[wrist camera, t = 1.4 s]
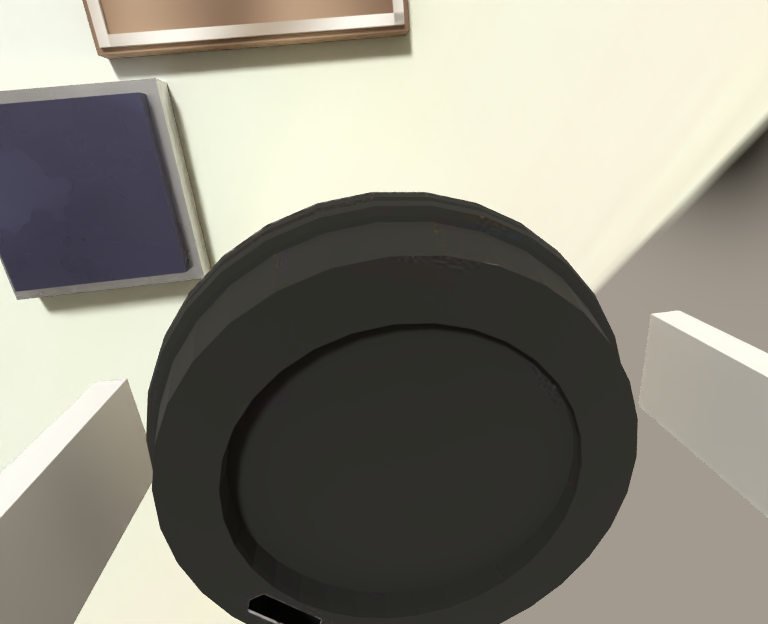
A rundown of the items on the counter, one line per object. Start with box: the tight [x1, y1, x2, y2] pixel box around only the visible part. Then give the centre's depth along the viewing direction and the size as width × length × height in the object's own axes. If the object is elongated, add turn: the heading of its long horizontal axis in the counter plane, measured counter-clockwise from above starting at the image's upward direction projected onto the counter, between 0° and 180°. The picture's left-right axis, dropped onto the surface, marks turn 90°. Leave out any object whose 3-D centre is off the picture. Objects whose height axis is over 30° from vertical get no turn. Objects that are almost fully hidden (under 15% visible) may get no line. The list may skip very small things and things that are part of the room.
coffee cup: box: [146, 192, 638, 624], centre depth 15 cm, size 10×10×15 cm
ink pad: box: [0, 78, 211, 300], centre depth 18 cm, size 8×8×2 cm
